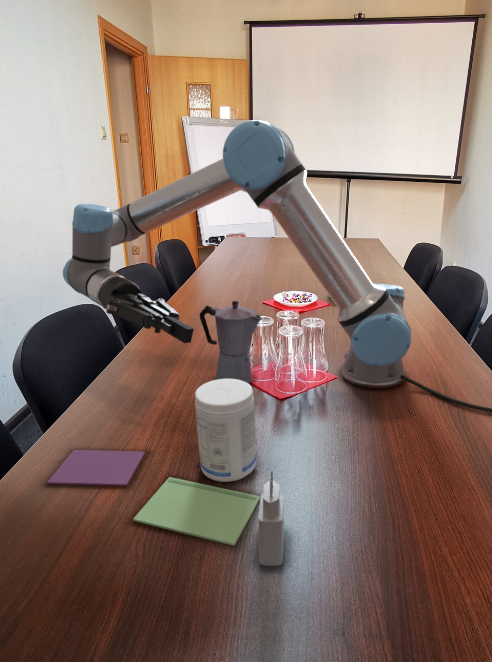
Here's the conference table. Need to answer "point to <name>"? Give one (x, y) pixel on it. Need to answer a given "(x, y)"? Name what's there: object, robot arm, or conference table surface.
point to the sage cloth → (199, 510)
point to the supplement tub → (226, 429)
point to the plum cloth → (98, 468)
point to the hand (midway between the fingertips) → (189, 335)
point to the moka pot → (232, 339)
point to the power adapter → (271, 524)
